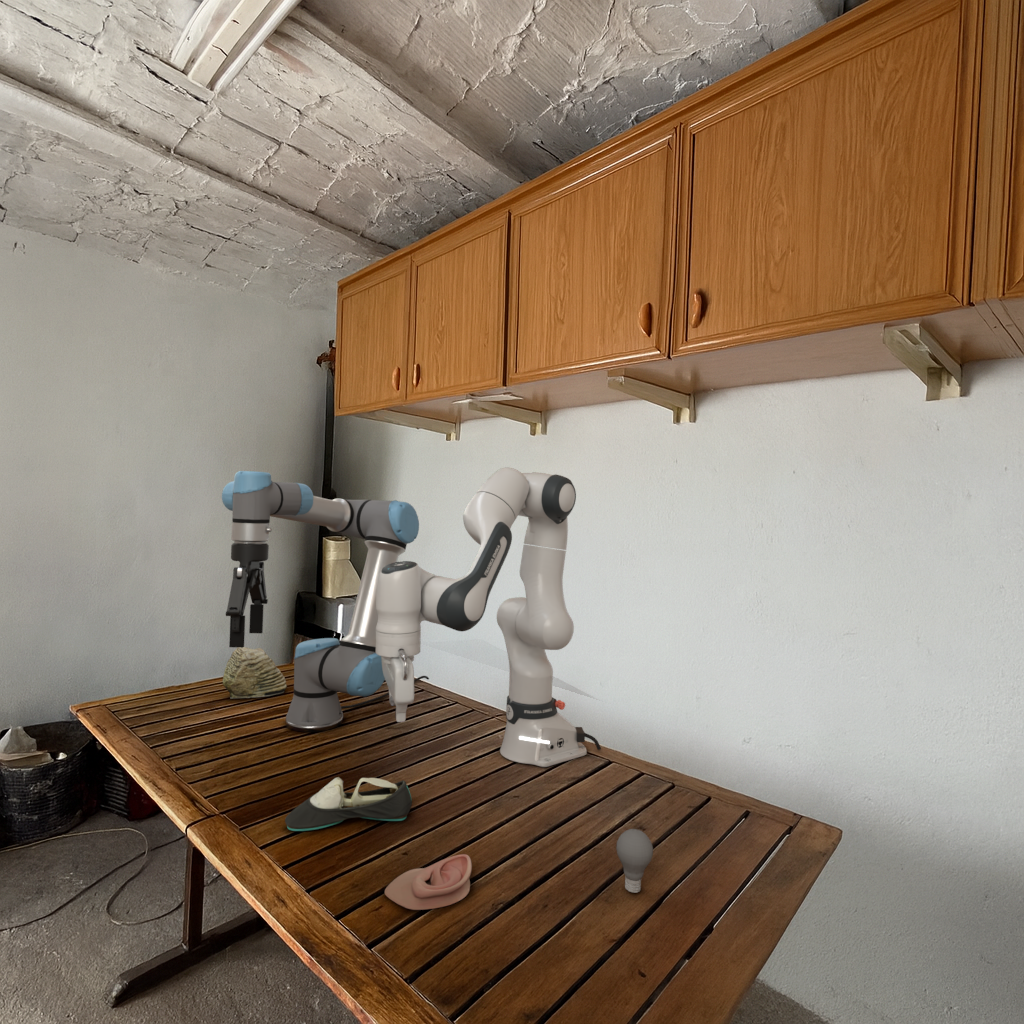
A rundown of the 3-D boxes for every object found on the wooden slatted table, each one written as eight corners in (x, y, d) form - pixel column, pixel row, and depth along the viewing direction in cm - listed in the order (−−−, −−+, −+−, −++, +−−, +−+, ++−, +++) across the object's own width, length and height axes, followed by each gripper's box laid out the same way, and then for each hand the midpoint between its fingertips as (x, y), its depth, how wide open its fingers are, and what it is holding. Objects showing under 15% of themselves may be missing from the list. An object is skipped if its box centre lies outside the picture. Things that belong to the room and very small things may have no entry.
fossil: (218, 695, 195) (220, 647, 195) (278, 685, 208) (279, 640, 207) (228, 703, 189) (230, 653, 188) (289, 692, 201) (290, 645, 201)
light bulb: (610, 879, 108) (613, 822, 108) (644, 879, 109) (647, 822, 109) (619, 902, 102) (622, 840, 102) (655, 901, 103) (658, 840, 103)
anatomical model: (377, 878, 99) (404, 840, 110) (376, 903, 99) (403, 863, 111) (458, 893, 97) (478, 852, 108) (457, 918, 97) (476, 875, 108)
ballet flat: (285, 816, 125) (286, 775, 125) (407, 803, 133) (408, 764, 133) (284, 838, 117) (286, 794, 117) (413, 822, 125) (415, 781, 125)
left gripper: (251, 547, 125) (247, 654, 126) (282, 539, 150) (279, 628, 151) (211, 546, 125) (207, 653, 125) (249, 538, 149) (246, 627, 150)
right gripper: (423, 656, 117) (421, 729, 118) (406, 631, 137) (405, 695, 137) (388, 658, 115) (387, 733, 116) (376, 633, 135) (376, 697, 135)
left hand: (246, 639), depth 138 cm, fingers open, 13 cm apart
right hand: (397, 712), depth 126 cm, fingers open, 8 cm apart
